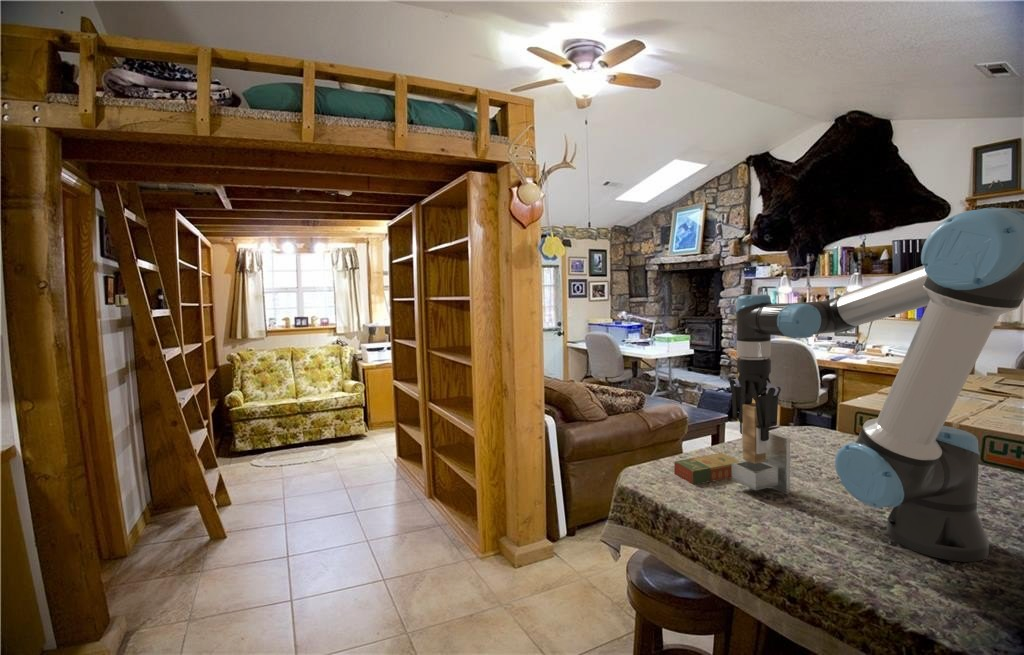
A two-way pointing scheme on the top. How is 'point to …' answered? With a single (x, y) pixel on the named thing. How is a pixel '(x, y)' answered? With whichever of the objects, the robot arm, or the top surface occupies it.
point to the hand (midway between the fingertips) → (754, 450)
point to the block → (751, 434)
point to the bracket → (767, 467)
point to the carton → (705, 468)
